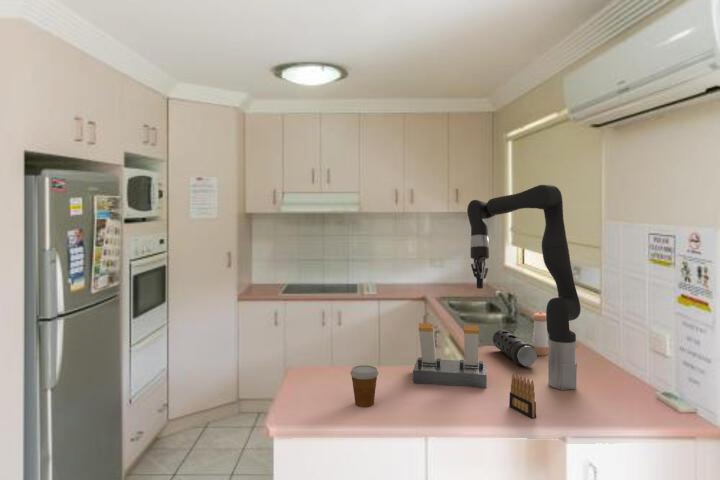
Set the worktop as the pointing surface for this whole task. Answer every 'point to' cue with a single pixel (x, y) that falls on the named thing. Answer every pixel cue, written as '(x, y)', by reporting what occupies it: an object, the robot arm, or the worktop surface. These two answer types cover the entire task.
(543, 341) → the pepper shaker
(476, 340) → the lever near
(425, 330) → the lever far
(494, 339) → the muzzle brake
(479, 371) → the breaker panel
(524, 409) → the ammunition clip
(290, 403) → the worktop surface
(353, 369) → the disposable coffee cup
